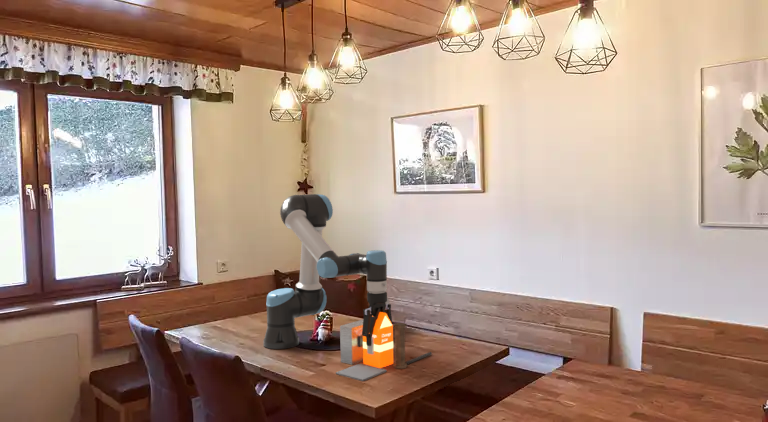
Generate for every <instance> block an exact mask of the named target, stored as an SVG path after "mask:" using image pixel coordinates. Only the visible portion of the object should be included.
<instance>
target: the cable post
mask: <svg viewBox="0 0 768 422" xmlns="http://www.w3.org/2000/svg"><path fill="white" fill-rule="evenodd" d="M392 324H393V328H394V341H395V342H394V344H395V346H394V348H395V349H394V351H395V352H394V354H395V355H394V356H395V358H394V359H395V363H393V368H394V369H396V370H397V369H398V370H399V369H401V370H403V369H406V368H408V365H407V364H406V363H405V362H406V351H405V350H406V346H405V344H406V343H405V342H406V341H405V338H406V336H405V328H406V327H407V323H403V322H396V323H392Z"/></svg>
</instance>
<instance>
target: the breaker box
mask: <svg viewBox="0 0 768 422" xmlns="http://www.w3.org/2000/svg"><path fill="white" fill-rule="evenodd" d="M362 329H363V319H360V320H356V321H352V322H350V323H349V322H348V323H346V324H342V325H339V337H340V338H339V339H340V340H339V341H340V363H342V364H343V363H344V364H348V365H351V366H354V365H357V364H360V363H361V362H363V336H362Z"/></svg>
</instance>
